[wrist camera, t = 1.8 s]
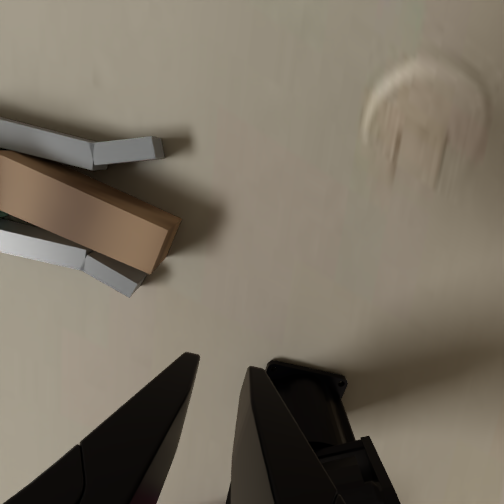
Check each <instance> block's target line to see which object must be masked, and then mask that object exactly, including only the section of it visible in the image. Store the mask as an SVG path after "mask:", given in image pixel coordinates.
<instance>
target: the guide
mask: <svg viewBox="0 0 504 504" xmlns="http://www.w3.org/2000/svg"><path fill="white" fill-rule="evenodd" d="M0 147H1V148H5V149H9V150H13V151H17V152H21V153H25V154H29V155H33V156H37V157H41V158H45V159H49V160H53V161H57V162H61V163H65V164H69V165H73V166H77V167H81V168H85V169H89V170H103V169H107V165H110V164H119V163H128V162H137V161H146V160H155V159H164V158H165V157H164V152H163V146H162V141H161V138H157V137H153V136H149V137H140V138H131V139H122V140H113V141H105V142H96V141H92V140H88V139H84V138H80V137H76V136H73V135H69V134H65V133H61V132H57V131H53V130H49V129H45V128H42V127H38V126H34V125H30V124H26V123H22V122H18V121H14V120H11V119H7V118H3V117H0ZM0 252H2V253H7V254H11V255H15V256H20V257H24V258H29V259H33V260H37V261H42V262H46V263H50V264H55V265H59V266H64V267H68V268H72V269H77V270H81V271H83V272H85V273H87V274H88V275H90V276H92V277H94V278H95V279H97V280H99V281H101V282H102V283H104V284H106V285H108V286H110V287H111V288H113V289H115V290H117V291H118V292H120V293H122V294H124V295H125V296H127V297H129V298H130V297H131V295H132V294H133V293H134V292H135V291H136V290H137V289H138V288H139V287H140V285H141V283H142V282H143V280H144V278H145V277H146V275H147V273H145V272H143V271H141V270H139V269H136V268H134V267H132V266H129V265H127V264H125V263H122V262H120V261H118V260H115V259H113V258H111V257H108V256H106V255H104V254H101V253H99V252H97V251H94V250H92V249H90V248H87V247H85V246H83V245H80V244H78V243H76V242H73V241H71V240H69V239H66V238H64V237H62V236H59V235H57V234H55V233H52V232H50V231H48V230H45V229H43V228H39V227H34V226H30V225H26V224H22V223H17V222H13V221H9V220H5V219H1V218H0Z"/></svg>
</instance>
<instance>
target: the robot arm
mask: <svg viewBox="0 0 504 504" xmlns="http://www.w3.org/2000/svg"><path fill="white" fill-rule="evenodd" d="M199 361H200V356H199V355H198V354H194V353H189V352H185V353H183V354H182V355H181V356H180V357H179V358H177V359H176V360H175V361H174V362H173V363H172V364H170V365H169V366H168V367H167V368H166V369H165V370H163V371H162V372H161V373H160V374H159V375H158V376H156V377H155V378H154V379H153V380H152V381H151V382H149V383H148V384H147V385H146V386H145V387H144V388H142V389H141V390H140V391H139V392H138V393H137V394H135V395H134V396H133V397H132V398H131V399H129V400H128V401H127V402H126V403H125V404H124V405H122V406H121V407H120V408H119V409H118V410H117V411H115V412H114V413H113V414H112V415H111V416H110V417H108V418H107V419H106V420H105V421H104V422H103V423H101V424H100V425H99V426H98V427H97V428H96V429H94V430H93V431H92V432H91V433H90V434H89V435H87V436H86V437H85V438H84V439H83V440H82V441H81V442H80V445H78V444H77V445H75V446H74V447H73V448H72V449H71V450H70V451H68V452H67V453H66V454H65V455H64V456H63V457H61V458H60V459H59V460H58V461H57V462H55V463H54V464H53V465H52V466H51V467H49V468H48V469H47V470H46V471H44V472H43V473H42V474H41V475H40V476H38V477H37V478H36V479H35V480H33V481H32V482H31V483H30V484H28V485H27V486H26V487H24V488H23V489H22V490H20V491H19V492H18V493H16V494H15V495H14V496H12V497H11V498H10V499H8V500H7V501H6V502H4V503H3V504H156V503H157V501H158V498H159V495H160V493H161V490H162V487H163V485H164V482H165V480H166V477H167V474H168V472H169V469H170V466H171V464H172V461H173V458H174V455H175V453H176V450H177V446H178V443H179V440H180V436H181V432H182V428H183V424H184V421H185V417H186V413H187V409H188V405H189V401H190V397H191V394H192V390H193V386H194V382H195V378H196V373H197V369H198V365H199ZM271 367H276V368H271ZM340 381H342V382H341V383H339V382H340ZM347 384H348V383H347V380H346V378H345V377H344V376H342V375H338V374H334V373H329V372H325V371H320V370H315V369H311V368H306V367H302V366H297V365H293V364H288V363H283V362H279V361H270V362H268V364H267V366H266V370H264V369H262V368H258V367H254V366H249V367H248V369H247V372H246V375H245V379H244V382H243V385H242V389H241V393H240V398H239V405H238V413H237V421H236V429H235V437H234V445H233V454H232V468H231V483H230V487H229V492H228V496H227V500H226V504H400V501H399V499H398V497H397V494H396V492H395V490H394V488H393V485H392V483H391V481H390V479H389V477H388V475H387V473H386V471H385V468H384V466H383V464H382V462H381V460H380V458H379V456H378V454H377V451H376V449H375V447H374V445H373V443H372V441H371V439H370V437H369V436H366V437H361V440H355V437H354V434H353V431H352V429H351V426H350V423H349V420H348V417H347V415H346V412H345V409H344V406H343V403H342V401H341V399H342V396H343V394H344V392H345V389H346V387H347Z"/></svg>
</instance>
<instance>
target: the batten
mask: <svg viewBox="0 0 504 504" xmlns="http://www.w3.org/2000/svg"><path fill="white" fill-rule="evenodd" d="M0 210H1V211H3V212H5V213H8V214H10V215H12V216H15V217H17V218H19V219H22V220H24V221H26V222H29V223H31V224H33V225H36V226H38V227H40V228H43V229H45V230H48V231H50V232H52V233H55V234H57V235H59V236H62V237H64V238H66V239H69V240H71V241H73V242H76V243H78V244H80V245H83V246H85V247H87V248H90V249H92V250H94V251H97V252H99V253H101V254H104V255H106V256H108V257H111V258H113V259H115V260H118V261H120V262H122V263H125V264H127V265H129V266H132V267H134V268H136V269H139V270H141V271H143V272H146V273H148V274H151V273H152V272H153V271H154V270H155V269H156V268H157V267H158V266H159V264H160V263H161V262H162V261H163V260H164V259H165V258H166V256H167V254H168V252H169V249H170V247H171V244H172V242H173V239H174V237H175V234H176V232H177V230H178V227H179V225H180V222H181V220H182V219H181V218H179V217H176V216H174V215H172V214H170V213H168V212H165V211H163V210H161V209H159V208H157V207H155V206H152V205H150V204H148V203H146V202H144V201H141V200H139V199H137V198H135V197H133V196H131V195H128V194H126V193H124V192H122V191H120V190H118V189H115V188H113V187H111V186H109V185H107V184H104V183H102V182H100V181H98V180H96V179H94V178H91V177H89V176H87V175H85V174H83V173H80V172H78V171H76V170H74V169H72V168H70V167H67V166H65V165H63V164H61V163H59V162H56V161H53V160H49V159H45V158H41V157H37V156H33V155H29V154H25V153H21V152H17V151H7V150H0Z"/></svg>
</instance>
